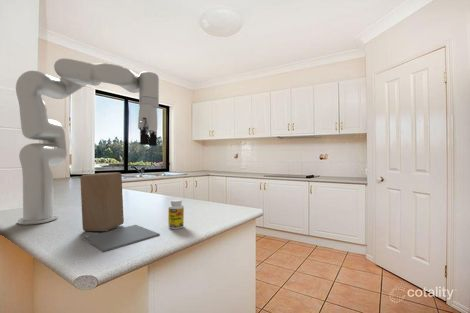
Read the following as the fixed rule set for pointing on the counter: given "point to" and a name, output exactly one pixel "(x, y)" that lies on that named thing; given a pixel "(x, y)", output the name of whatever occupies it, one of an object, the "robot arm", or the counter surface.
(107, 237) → the mat
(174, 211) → the supplement bottle
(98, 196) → the block
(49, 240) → the counter surface
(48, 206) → the robot arm
